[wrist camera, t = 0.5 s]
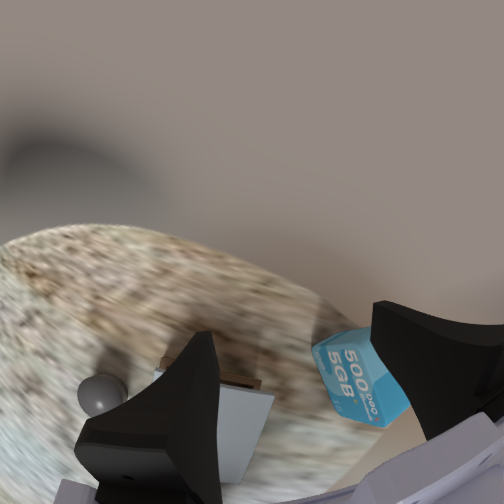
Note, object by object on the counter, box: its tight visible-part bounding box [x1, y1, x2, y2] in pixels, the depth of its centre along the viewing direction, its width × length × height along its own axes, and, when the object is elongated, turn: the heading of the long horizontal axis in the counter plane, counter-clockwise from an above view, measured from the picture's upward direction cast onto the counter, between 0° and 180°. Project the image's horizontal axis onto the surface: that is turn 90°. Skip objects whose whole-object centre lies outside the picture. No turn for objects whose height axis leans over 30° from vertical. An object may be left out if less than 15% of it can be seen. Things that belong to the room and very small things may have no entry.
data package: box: [312, 327, 410, 427], centre depth 31 cm, size 12×4×12 cm, turn 23°
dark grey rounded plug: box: [77, 374, 127, 417], centre depth 26 cm, size 5×5×5 cm
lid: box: [153, 368, 275, 484], centre depth 25 cm, size 14×12×1 cm
